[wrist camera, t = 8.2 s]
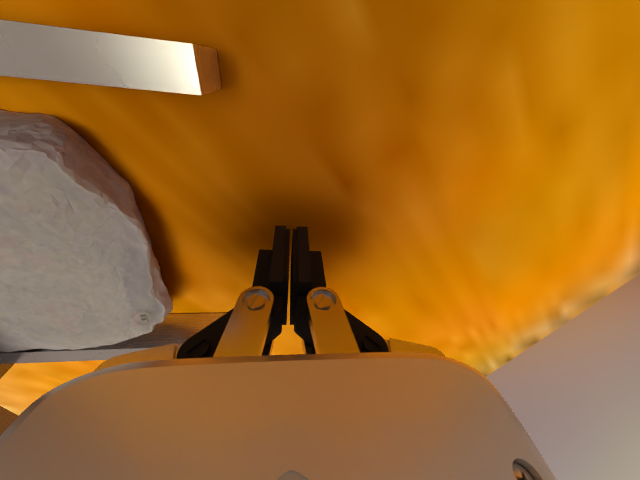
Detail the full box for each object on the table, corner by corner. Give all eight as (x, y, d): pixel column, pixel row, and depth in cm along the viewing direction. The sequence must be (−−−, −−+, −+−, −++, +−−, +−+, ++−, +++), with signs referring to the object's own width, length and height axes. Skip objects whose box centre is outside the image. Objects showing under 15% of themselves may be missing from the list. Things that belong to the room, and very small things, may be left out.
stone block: (101, 90, 10) (-201, 128, 9) (32, 107, 7) (-517, 180, 5) (207, 273, 18) (58, 312, 16) (202, 327, 14) (7, 386, 12)
